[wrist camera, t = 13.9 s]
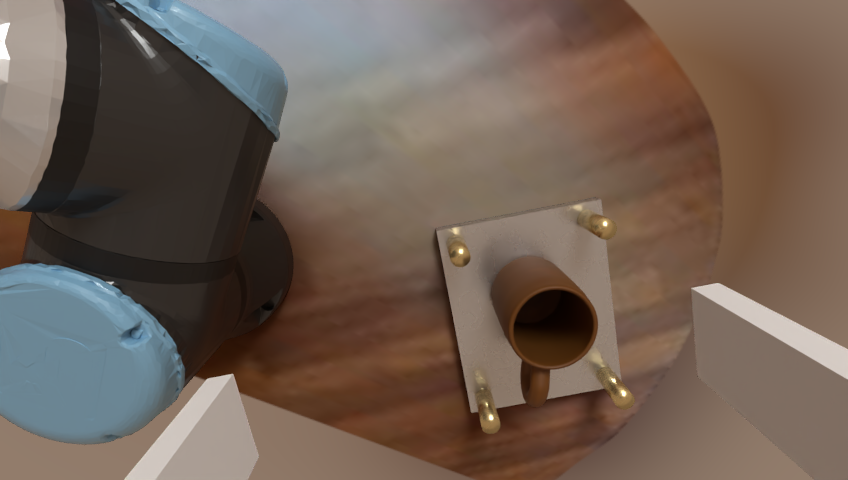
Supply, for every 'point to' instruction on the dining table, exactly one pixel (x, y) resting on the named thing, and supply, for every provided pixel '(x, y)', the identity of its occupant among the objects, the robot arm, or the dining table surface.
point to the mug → (542, 321)
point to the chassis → (477, 321)
